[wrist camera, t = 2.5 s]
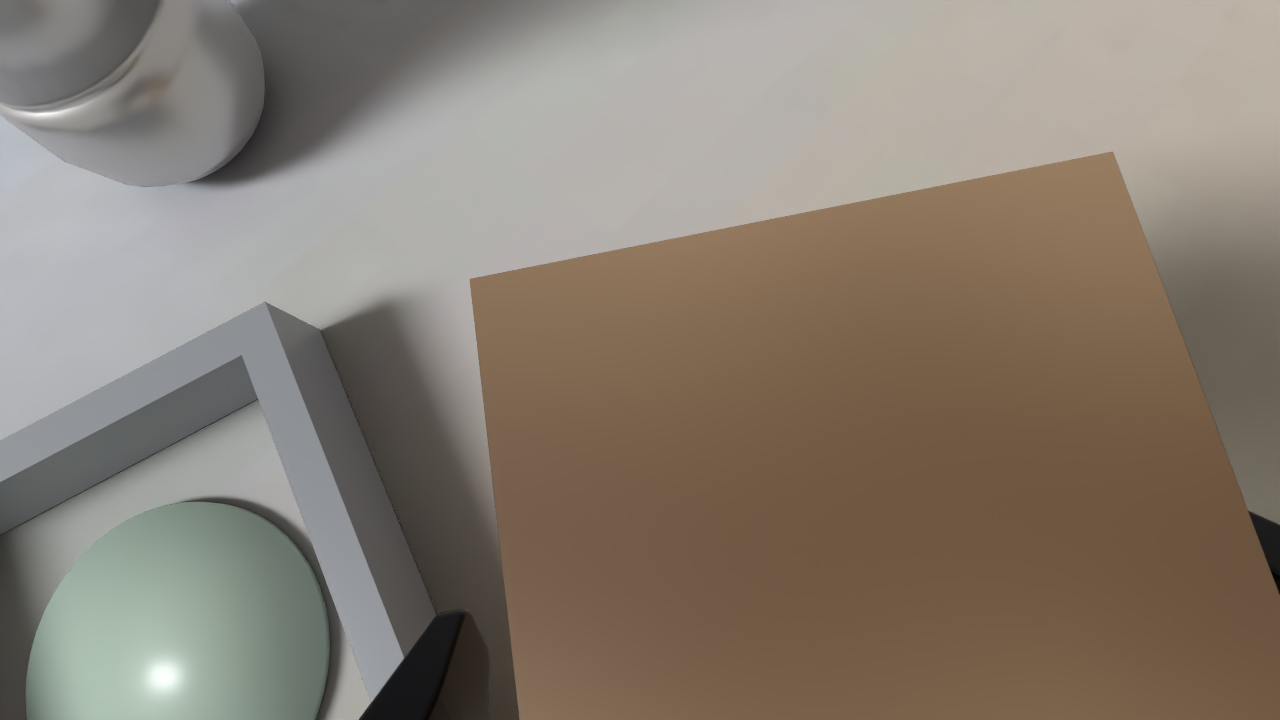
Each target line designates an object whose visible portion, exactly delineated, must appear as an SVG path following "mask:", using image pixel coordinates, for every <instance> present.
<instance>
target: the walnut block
mask: <svg viewBox="0 0 1280 720" xmlns="http://www.w3.org/2000/svg"><path fill="white" fill-rule="evenodd" d="M470 287H471V295H472V304H473V313H474V322H475V331H476V340H477V348H478V357H479V366H480V375H481V384H482V393H483V401H484V410H485V419H486V428H487V437H488V446H489V454H490V463H491V472H492V481H493V490H494V499H495V508H496V516H497V525H498V534H499V543H500V552H501V561H502V569H503V578H504V587H505V596H506V605H507V614H508V622H509V631H510V640H511V649H512V658H513V667H514V675H515V684H516V693H517V702H518V711H519V720H1280V595H1279V592H1278V589H1277V587H1276V584H1275V581H1274V579H1273V576H1272V573H1271V571H1270V568H1269V565H1268V563H1267V560H1266V558H1265V555H1264V552H1263V550H1262V547H1261V544H1260V542H1259V539H1258V536H1257V534H1256V531H1255V528H1254V526H1253V523H1252V520H1251V518H1250V515H1249V512H1248V510H1247V507H1246V504H1245V502H1244V499H1243V496H1242V494H1241V491H1240V488H1239V486H1238V483H1237V480H1236V478H1235V475H1234V472H1233V470H1232V467H1231V464H1230V462H1229V459H1228V456H1227V454H1226V451H1225V449H1224V446H1223V443H1222V441H1221V438H1220V435H1219V433H1218V430H1217V427H1216V425H1215V422H1214V419H1213V417H1212V414H1211V411H1210V409H1209V406H1208V403H1207V401H1206V398H1205V395H1204V393H1203V390H1202V387H1201V385H1200V382H1199V379H1198V377H1197V374H1196V371H1195V369H1194V366H1193V363H1192V361H1191V358H1190V355H1189V353H1188V350H1187V347H1186V345H1185V342H1184V340H1183V337H1182V334H1181V332H1180V329H1179V326H1178V324H1177V321H1176V318H1175V316H1174V313H1173V310H1172V308H1171V305H1170V302H1169V300H1168V297H1167V294H1166V292H1165V289H1164V286H1163V284H1162V281H1161V278H1160V276H1159V273H1158V270H1157V268H1156V265H1155V262H1154V260H1153V257H1152V254H1151V252H1150V249H1149V246H1148V244H1147V241H1146V238H1145V236H1144V233H1143V231H1142V228H1141V225H1140V223H1139V220H1138V217H1137V215H1136V212H1135V209H1134V207H1133V204H1132V201H1131V199H1130V196H1129V193H1128V191H1127V188H1126V185H1125V183H1124V180H1123V177H1122V175H1121V172H1120V169H1119V167H1118V164H1117V161H1116V159H1115V156H1114V153H1113V152H1108V153H1103V154H1098V155H1093V156H1088V157H1083V158H1078V159H1073V160H1068V161H1063V162H1058V163H1053V164H1048V165H1043V166H1038V167H1033V168H1028V169H1023V170H1018V171H1013V172H1007V173H1002V174H997V175H992V176H987V177H982V178H977V179H972V180H967V181H962V182H957V183H952V184H947V185H942V186H937V187H932V188H927V189H922V190H917V191H912V192H907V193H901V194H896V195H891V196H886V197H881V198H876V199H871V200H866V201H861V202H856V203H851V204H846V205H841V206H836V207H831V208H826V209H821V210H816V211H811V212H806V213H801V214H796V215H790V216H785V217H780V218H775V219H770V220H765V221H760V222H755V223H750V224H745V225H740V226H735V227H730V228H725V229H720V230H715V231H710V232H705V233H700V234H695V235H690V236H684V237H679V238H674V239H669V240H664V241H659V242H654V243H649V244H644V245H639V246H634V247H629V248H624V249H619V250H614V251H609V252H604V253H599V254H594V255H589V256H584V257H578V258H573V259H568V260H563V261H558V262H553V263H548V264H543V265H538V266H533V267H528V268H523V269H518V270H513V271H508V272H503V273H498V274H493V275H488V276H483V277H478V278H472V279H470Z"/></svg>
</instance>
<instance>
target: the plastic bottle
mask: <svg viewBox="0 0 1280 720" xmlns="http://www.w3.org/2000/svg"><path fill="white" fill-rule="evenodd" d="M264 97H265V80H264V68H263V60H262V55H261V52H260V49H259V47H258V44H257V41H256V39H255V38H254V36H253V35H252V33H251V32H250V30H249V29H248V27H247V26H246V24H245V23H244V21H243V20H242V18H241V16H240V15H239V13H238V12H237V10H236V9H235V7H234V6H233V4H232V3H231V1H230V0H0V115H1V116H2V117H4V118H5V119H6V120H7V121H8V122H10V123H11V124H13V125H14V126H15V127H17V128H18V129H19V130H21V131H22V132H23V133H25V134H26V135H28V136H29V137H30V138H32V139H33V140H34V141H36V142H37V143H38V144H40V145H41V146H43V147H44V148H45V149H47V150H48V151H49V152H51V153H52V154H54V155H55V156H57V157H58V158H60V159H61V160H63V161H64V162H67V163H69V164H72V165H75V166H77V167H80V168H83V169H86V170H88V171H91V172H94V173H96V174H99V175H102V176H104V177H107V178H110V179H113V180H115V181H118V182H121V183H123V184H126V185H133V186H140V187H154V186H167V185H174V184H182V183H186V182H190V181H194V180H198V179H200V178H203V177H205V176H207V175H209V174H211V173H213V172H215V171H217V170H218V169H220V168H221V167H223V166H224V165H225V164H227V163H228V162H230V161H231V160H232V159H233V158H234V157H235V156H236V155H237V154H238V153H239V152H240V151H241V150H242V149H243V147H244V146H245V145H246V143H247V142H248V141H249V139H250V138H251V137H252V135H253V133H254V131H255V129H256V127H257V125H258V123H259V120H260V117H261V113H262V110H263V107H264Z"/></svg>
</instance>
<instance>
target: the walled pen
mask: <svg viewBox="0 0 1280 720" xmlns="http://www.w3.org/2000/svg"><path fill="white" fill-rule="evenodd" d="M257 399H258V400H259V403H260V406H261V408H262V411H263V414H264V416H265V419H266V422H267V424H268V427H269V430H270V432H271V435H272V438H273V440H274V443H275V446H276V449H277V451H278V454H279V457H280V459H281V462H282V465H283V467H284V470H285V473H286V475H287V478H288V481H289V483H290V486H291V489H292V492H293V494H294V497H295V500H296V502H297V505H298V508H299V510H300V513H301V516H302V518H303V521H304V524H305V526H306V529H307V532H308V535H309V537H310V540H311V543H312V545H313V548H314V551H315V553H316V556H317V559H318V561H319V564H320V567H321V569H322V572H323V575H324V577H325V580H326V583H327V586H328V588H329V591H330V594H331V596H332V599H333V602H334V604H335V607H336V610H337V612H338V615H339V618H340V620H341V623H342V626H343V629H344V631H345V634H346V637H347V639H348V642H349V645H350V647H351V650H352V653H353V655H354V658H355V661H356V663H357V666H358V669H359V672H360V674H361V677H362V680H363V682H364V685H365V688H366V690H367V693H368V696H369V698H370V701H371V702H372V701H373V700H374V698H375V697H376V695H377V694H378V693H379V691H380V690H381V689H382V687H383V686H384V685H385V683H386V682H387V680H388V679H389V678H390V676H391V675H392V674H393V672H394V671H395V670H396V668H397V667H398V665H399V664H400V663H401V661H402V660H403V659H404V657H405V656H406V655H407V653H408V652H409V651H410V649H411V648H412V646H413V645H414V644H415V642H416V641H417V640H418V638H419V637H420V636H421V634H422V633H423V631H424V630H425V629H426V627H427V626H428V625H429V623H430V622H431V621H432V619H433V618H434V617H435V616H436V612H435V610H434V607H433V605H432V602H431V600H430V598H429V595H428V593H427V590H426V588H425V585H424V583H423V580H422V578H421V576H420V573H419V571H418V568H417V566H416V563H415V561H414V559H413V556H412V554H411V551H410V549H409V546H408V544H407V541H406V539H405V537H404V534H403V532H402V529H401V527H400V524H399V522H398V519H397V517H396V515H395V512H394V510H393V507H392V505H391V502H390V500H389V498H388V495H387V493H386V490H385V488H384V485H383V483H382V480H381V478H380V476H379V473H378V471H377V468H376V466H375V463H374V461H373V458H372V456H371V454H370V451H369V449H368V446H367V444H366V441H365V439H364V436H363V434H362V432H361V429H360V427H359V424H358V422H357V419H356V417H355V415H354V412H353V410H352V407H351V405H350V402H349V400H348V397H347V395H346V393H345V390H344V388H343V385H342V383H341V380H340V378H339V375H338V373H337V371H336V368H335V366H334V363H333V361H332V358H331V356H330V354H329V351H328V349H327V346H326V344H325V341H324V339H323V336H322V334H321V332H320V329H318V328H316V327H314V326H312V325H310V324H308V323H306V322H304V321H302V320H300V319H298V318H296V317H294V316H292V315H290V314H288V313H286V312H284V311H282V310H280V309H278V308H276V307H274V306H272V305H270V304H268V303H266V302H264V303H262V304H260V305H258V306H256V307H254V308H252V309H250V310H248V311H246V312H245V313H243V314H241V315H239V316H237V317H235V318H233V319H231V320H229V321H227V322H226V323H224V324H222V325H220V326H218V327H216V328H214V329H212V330H210V331H208V332H206V333H205V334H203V335H201V336H199V337H197V338H195V339H193V340H191V341H189V342H187V343H186V344H184V345H182V346H180V347H178V348H176V349H174V350H172V351H170V352H168V353H166V354H165V355H163V356H161V357H159V358H157V359H155V360H153V361H151V362H149V363H147V364H146V365H144V366H142V367H140V368H138V369H136V370H134V371H132V372H130V373H128V374H126V375H125V376H123V377H121V378H119V379H117V380H115V381H113V382H111V383H109V384H107V385H106V386H104V387H102V388H100V389H98V390H96V391H94V392H92V393H90V394H88V395H86V396H85V397H83V398H81V399H79V400H77V401H75V402H73V403H71V404H69V405H67V406H66V407H64V408H62V409H60V410H58V411H56V412H54V413H52V414H50V415H48V416H46V417H45V418H43V419H41V420H39V421H37V422H35V423H33V424H31V425H29V426H27V427H26V428H24V429H22V430H20V431H18V432H16V433H14V434H12V435H10V436H8V437H6V438H5V439H3V440H1V441H0V535H1V534H3V533H5V532H7V531H9V530H10V529H12V528H14V527H16V526H18V525H20V524H22V523H24V522H26V521H27V520H29V519H31V518H33V517H35V516H37V515H39V514H41V513H43V512H44V511H46V510H48V509H50V508H52V507H54V506H56V505H58V504H60V503H62V502H63V501H65V500H67V499H69V498H71V497H73V496H75V495H77V494H79V493H80V492H82V491H84V490H86V489H88V488H90V487H92V486H94V485H96V484H98V483H99V482H101V481H103V480H105V479H107V478H109V477H111V476H113V475H115V474H116V473H118V472H120V471H122V470H124V469H126V468H128V467H130V466H132V465H133V464H135V463H137V462H139V461H141V460H143V459H145V458H147V457H149V456H151V455H152V454H154V453H156V452H158V451H160V450H162V449H164V448H166V447H168V446H169V445H171V444H173V443H175V442H177V441H179V440H181V439H183V438H185V437H187V436H188V435H190V434H192V433H194V432H196V431H198V430H200V429H202V428H204V427H205V426H207V425H209V424H211V423H213V422H215V421H217V420H219V419H221V418H222V417H224V416H226V415H228V414H230V413H232V412H234V411H236V410H238V409H240V408H241V407H243V406H245V405H247V404H249V403H251V402H253V401H255V400H257ZM329 657H330V634H329V623H328V616H327V610H326V605H325V602H324V598H323V595H322V592H321V588H320V585H319V583H318V581H317V579H316V576H315V574H314V572H313V570H312V568H311V566H310V564H309V563H308V561H307V560H306V558H305V556H304V555H303V553H302V552H301V551H300V549H299V548H298V547H297V546H296V545H295V543H294V542H293V541H292V540H291V539H290V538H289V537H288V536H287V535H286V534H285V533H284V532H283V531H281V530H280V529H279V528H278V527H277V526H276V525H274V524H272V523H271V522H269V521H268V520H266V519H265V518H263V517H262V516H260V515H257V514H255V513H253V512H251V511H248V510H246V509H243V508H240V507H236V506H232V505H229V504H221V503H213V502H182V503H176V504H170V505H165V506H162V507H158V508H155V509H152V510H149V511H146V512H144V513H142V514H139V515H137V516H135V517H133V518H131V519H128V520H127V521H125V522H124V523H122V524H120V525H119V526H117V527H115V528H114V529H112V530H111V531H109V532H108V533H107V534H106V535H104V536H103V537H102V538H100V539H99V540H98V541H97V542H95V543H94V544H93V545H92V546H91V547H90V548H89V549H88V550H87V551H86V552H85V553H84V554H83V555H82V556H81V557H80V558H79V559H78V561H77V562H76V563H75V564H74V565H73V567H72V568H71V569H70V570H69V571H68V573H67V574H66V575H65V577H64V578H63V580H62V581H61V583H60V584H59V586H58V587H57V589H56V590H55V592H54V594H53V596H52V598H51V600H50V602H49V604H48V605H47V607H46V609H45V611H44V614H43V616H42V619H41V621H40V624H39V626H38V629H37V631H36V635H35V638H34V642H33V645H32V649H31V652H30V658H29V664H28V669H27V676H26V693H25V700H26V718H27V720H315V719H316V717H317V714H318V711H319V708H320V705H321V702H322V698H323V695H324V691H325V686H326V681H327V676H328V670H329Z"/></svg>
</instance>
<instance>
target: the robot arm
mask: <svg viewBox="0 0 1280 720" xmlns="http://www.w3.org/2000/svg"><path fill="white" fill-rule="evenodd" d="M1248 512H1249V515H1250V518H1251V520H1252V523H1253V526H1254V528H1255V531H1256V534H1257V536H1258V539H1259V542H1260V544H1261V547H1262V550H1263V552H1264V555H1265V558H1266V560H1267V563H1268V565H1269V568H1270V571H1271V573H1272V576H1273V579H1274V581H1275V584H1276V587H1277V589H1278V592H1279V595H1280V525H1279V524H1277V523H1275V522H1272V521H1270V520H1268V519H1266V518H1264V517H1261V516H1259V515H1257V514H1255V513H1252V512H1250V511H1248ZM488 696H489V653H488V648H487V645H486V643H485V641H484V639H483V637H482V635H481V632H480V630H479V628H478V626H477V624H476V622H475V620H474V618H473V616H472V614H471V613H470V611H468V610H467V609H458V610H452V611H446V612H441V613H439V614H437V615H436V616H435V617H434V618H433V619H432V621H431V622H430V623H429V625H428V626H427V627H426V629H425V630H424V631H423V633H422V634H421V636H420V637H419V638H418V640H417V641H416V642H415V644H414V645H413V646H412V648H411V649H410V651H409V652H408V653H407V655H406V656H405V657H404V659H403V660H402V661H401V663H400V664H399V665H398V667H397V668H396V670H395V671H394V672H393V674H392V675H391V676H390V678H389V679H388V680H387V682H386V683H385V685H384V686H383V687H382V689H381V690H380V691H379V693H378V694H377V695H376V697H375V698H374V700H373V701H372V702H371V704H370V705H369V706H368V708H367V709H366V710H365V712H364V713H363V714H362V716H361V717H360V719H359V720H488Z"/></svg>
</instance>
